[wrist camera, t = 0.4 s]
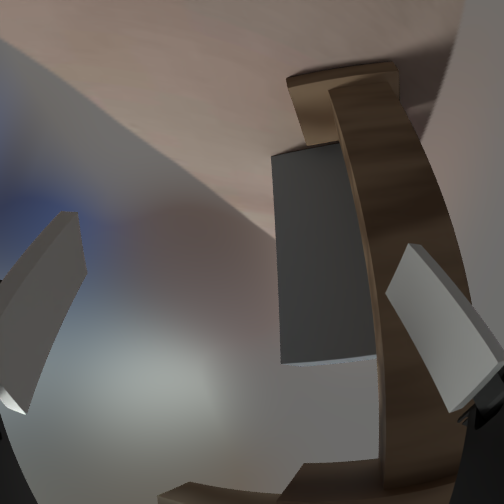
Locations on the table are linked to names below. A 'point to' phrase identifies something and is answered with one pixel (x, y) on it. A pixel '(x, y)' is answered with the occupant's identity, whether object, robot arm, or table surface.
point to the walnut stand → (386, 287)
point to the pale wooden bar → (213, 495)
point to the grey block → (320, 261)
